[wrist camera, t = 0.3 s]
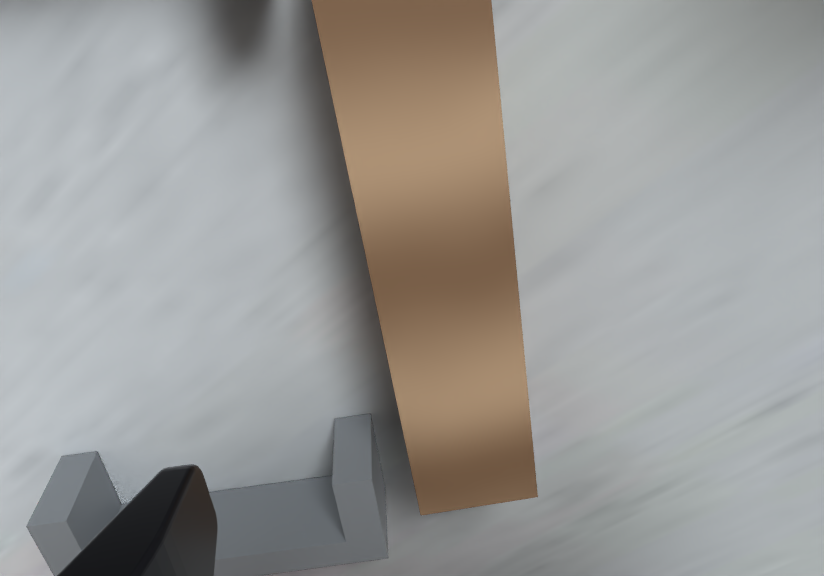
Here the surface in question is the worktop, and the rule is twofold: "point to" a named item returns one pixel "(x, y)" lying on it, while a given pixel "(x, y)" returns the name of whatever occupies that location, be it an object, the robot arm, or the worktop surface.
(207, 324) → the worktop surface
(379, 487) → the end cap
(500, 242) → the slat
